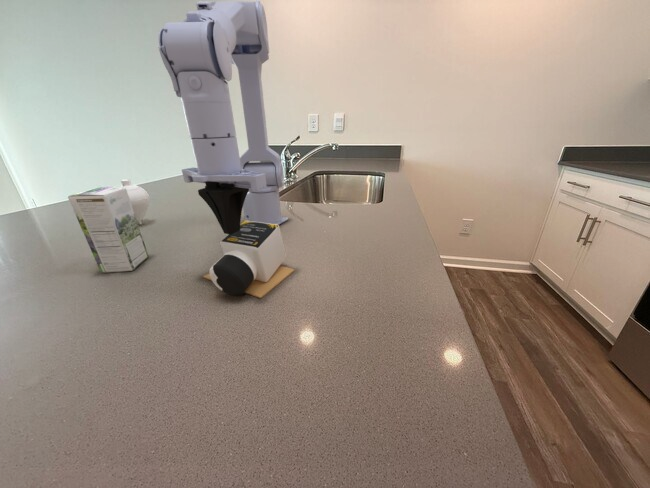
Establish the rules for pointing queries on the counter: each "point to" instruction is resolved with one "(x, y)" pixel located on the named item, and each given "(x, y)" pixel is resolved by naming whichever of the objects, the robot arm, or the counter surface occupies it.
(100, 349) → the counter surface
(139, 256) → the syrup box
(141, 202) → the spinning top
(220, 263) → the medicine bottle
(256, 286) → the cork mat
